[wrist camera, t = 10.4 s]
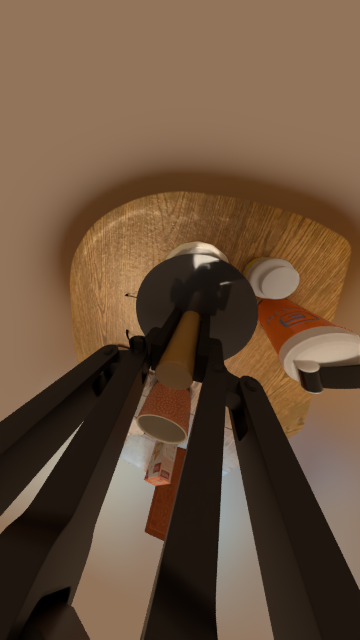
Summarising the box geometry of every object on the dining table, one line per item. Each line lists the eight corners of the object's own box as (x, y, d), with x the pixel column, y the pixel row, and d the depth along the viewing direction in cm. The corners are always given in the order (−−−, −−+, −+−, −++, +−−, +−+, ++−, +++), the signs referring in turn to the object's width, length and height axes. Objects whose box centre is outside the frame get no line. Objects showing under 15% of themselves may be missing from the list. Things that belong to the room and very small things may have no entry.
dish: (102, 407, 79) (86, 429, 69) (137, 413, 72) (125, 438, 62) (117, 429, 90) (106, 450, 80) (149, 435, 83) (141, 460, 73)
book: (201, 454, 78) (195, 554, 52) (200, 459, 82) (194, 554, 56) (165, 443, 83) (143, 530, 57) (166, 448, 87) (145, 532, 61)
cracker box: (172, 413, 64) (156, 477, 46) (183, 419, 64) (171, 484, 46) (160, 422, 71) (143, 480, 53) (170, 427, 71) (155, 487, 53)
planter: (196, 401, 55) (191, 448, 42) (160, 398, 60) (146, 439, 47) (189, 373, 48) (180, 418, 35) (149, 372, 53) (128, 411, 40)
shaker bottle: (300, 315, 31) (411, 397, 13) (260, 331, 35) (307, 410, 17) (285, 284, 28) (397, 334, 11) (245, 304, 32) (282, 365, 15)
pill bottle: (273, 284, 29) (305, 301, 19) (241, 290, 31) (255, 308, 21) (274, 252, 26) (312, 253, 16) (240, 261, 28) (254, 266, 18)
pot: (240, 270, 29) (250, 277, 21) (202, 310, 36) (198, 328, 28) (194, 230, 28) (186, 221, 19) (163, 280, 34) (147, 289, 26)
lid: (286, 311, 14) (387, 393, 6) (200, 373, 21) (192, 448, 13) (178, 219, 12) (114, 159, 4) (124, 320, 19) (63, 369, 11)
